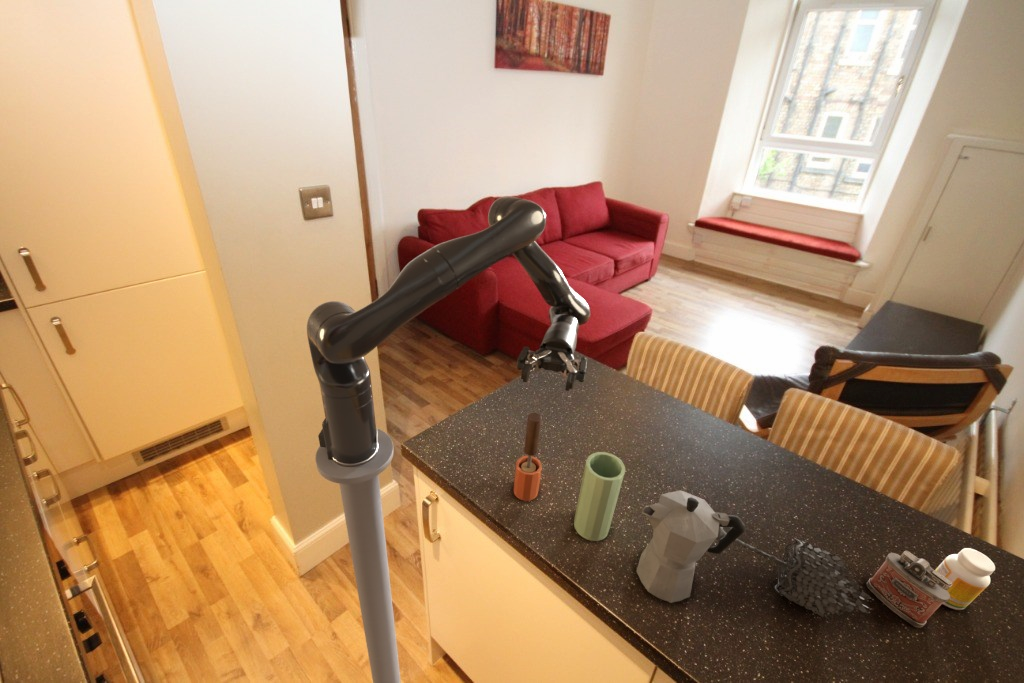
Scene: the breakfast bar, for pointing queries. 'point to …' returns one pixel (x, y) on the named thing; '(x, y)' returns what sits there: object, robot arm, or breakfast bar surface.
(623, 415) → the breakfast bar surface
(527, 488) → the pot
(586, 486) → the vase
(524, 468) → the bottle brush
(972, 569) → the supplement bottle
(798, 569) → the massage brush
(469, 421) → the breakfast bar surface
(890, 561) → the lighter
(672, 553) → the coffeepot
